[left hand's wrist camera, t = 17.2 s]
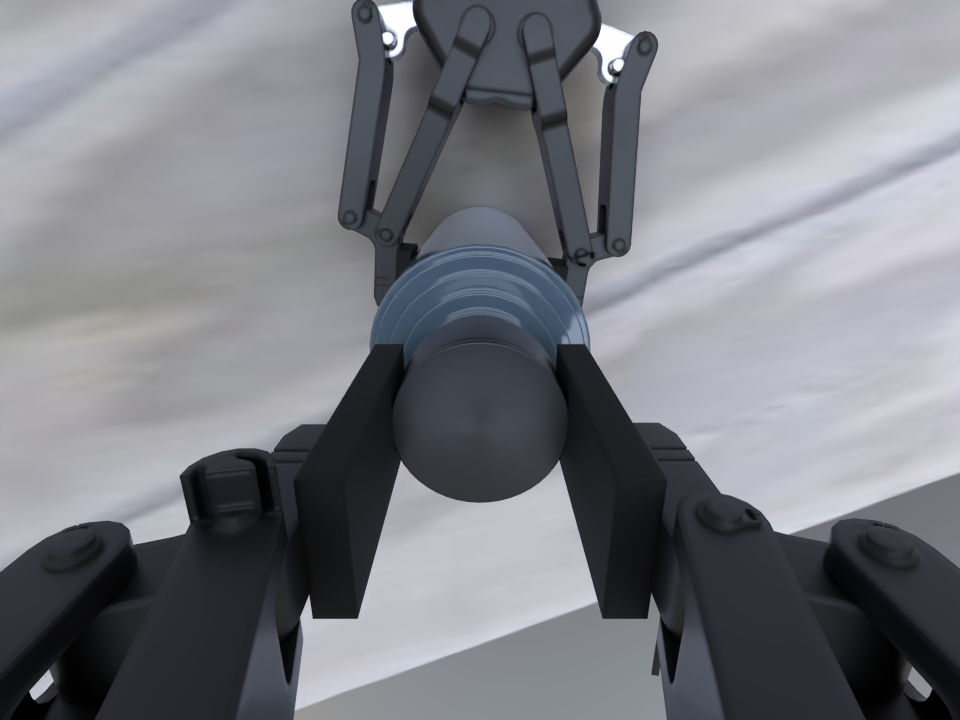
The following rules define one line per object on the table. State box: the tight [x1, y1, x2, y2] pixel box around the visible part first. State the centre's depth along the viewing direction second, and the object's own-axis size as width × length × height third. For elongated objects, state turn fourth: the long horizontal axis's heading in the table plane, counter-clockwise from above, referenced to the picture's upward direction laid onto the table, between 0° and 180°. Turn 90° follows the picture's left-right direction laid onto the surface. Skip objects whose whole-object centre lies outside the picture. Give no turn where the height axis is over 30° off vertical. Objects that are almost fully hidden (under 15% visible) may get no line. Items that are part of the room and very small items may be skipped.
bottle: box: [370, 207, 590, 371], centre depth 23 cm, size 7×7×22 cm
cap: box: [392, 317, 568, 503], centre depth 13 cm, size 4×4×2 cm
